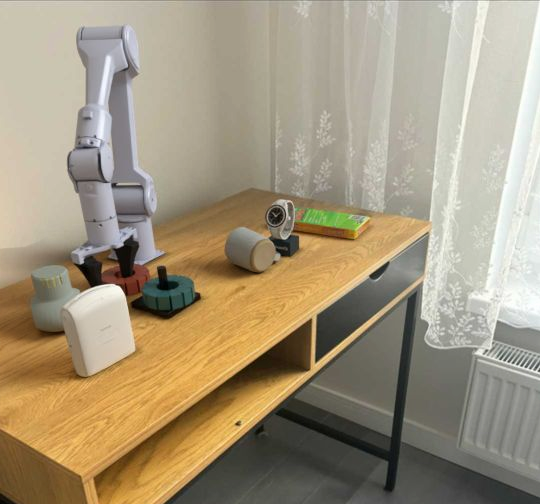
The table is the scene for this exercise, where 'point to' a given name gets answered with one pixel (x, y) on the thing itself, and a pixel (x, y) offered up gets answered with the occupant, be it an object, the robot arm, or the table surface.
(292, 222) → the watch
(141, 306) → the peg stand
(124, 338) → the photo printer
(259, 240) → the ceramic mug
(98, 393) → the table surface
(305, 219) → the game box
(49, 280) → the air freshener
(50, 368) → the table surface
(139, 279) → the brick ring
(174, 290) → the teal ring
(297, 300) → the table surface
